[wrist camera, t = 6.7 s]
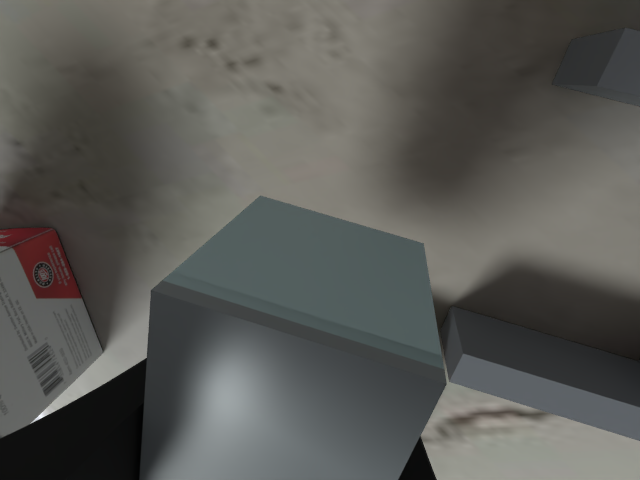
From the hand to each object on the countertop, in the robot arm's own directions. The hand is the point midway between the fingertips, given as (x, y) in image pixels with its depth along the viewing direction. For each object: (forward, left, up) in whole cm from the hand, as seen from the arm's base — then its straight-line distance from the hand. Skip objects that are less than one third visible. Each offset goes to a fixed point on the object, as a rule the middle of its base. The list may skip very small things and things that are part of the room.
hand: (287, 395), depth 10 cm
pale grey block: (0, 0, -2) cm, 2 cm away
